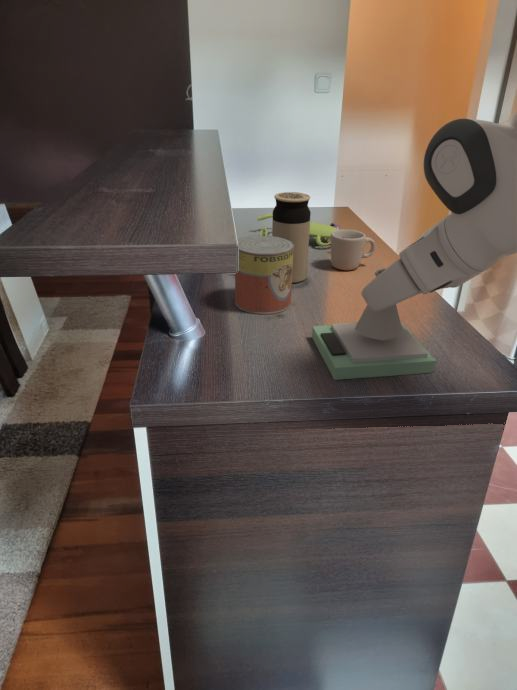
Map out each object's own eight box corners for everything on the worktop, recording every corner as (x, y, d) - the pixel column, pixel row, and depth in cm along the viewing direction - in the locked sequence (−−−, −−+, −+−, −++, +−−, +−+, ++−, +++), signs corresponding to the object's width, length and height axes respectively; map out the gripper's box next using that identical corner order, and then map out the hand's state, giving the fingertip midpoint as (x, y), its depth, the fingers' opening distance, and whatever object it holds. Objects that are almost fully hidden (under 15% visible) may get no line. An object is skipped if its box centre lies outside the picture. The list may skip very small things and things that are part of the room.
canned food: (265, 319, 96) (266, 258, 90) (223, 302, 102) (221, 244, 97) (302, 302, 103) (306, 244, 97) (261, 287, 110) (262, 232, 104)
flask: (346, 330, 83) (352, 271, 78) (373, 317, 87) (380, 261, 82) (383, 346, 78) (392, 284, 73) (410, 331, 82) (420, 273, 78)
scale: (398, 332, 92) (400, 317, 90) (433, 372, 80) (437, 356, 78) (311, 337, 90) (312, 322, 88) (334, 380, 78) (335, 363, 76)
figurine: (260, 228, 150) (260, 209, 147) (352, 234, 145) (354, 214, 143) (247, 247, 134) (247, 226, 131) (350, 254, 130) (353, 233, 127)
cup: (366, 260, 126) (370, 228, 122) (378, 271, 119) (382, 237, 115) (323, 262, 124) (326, 229, 120) (333, 273, 117) (336, 239, 114)
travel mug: (284, 286, 110) (287, 201, 102) (264, 275, 116) (265, 194, 108) (313, 279, 114) (319, 197, 105) (292, 268, 120) (296, 190, 111)
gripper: (470, 220, 77) (402, 266, 87) (400, 250, 64) (330, 300, 74) (493, 256, 76) (422, 298, 87) (427, 293, 63) (352, 337, 74)
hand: (379, 299), depth 80 cm, fingers closed on flask, 3 cm apart
